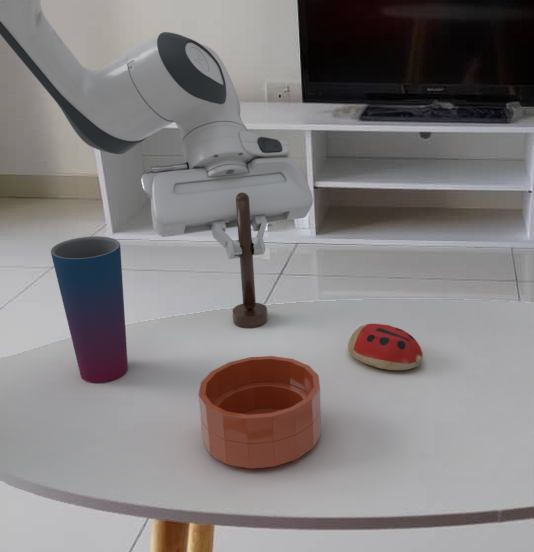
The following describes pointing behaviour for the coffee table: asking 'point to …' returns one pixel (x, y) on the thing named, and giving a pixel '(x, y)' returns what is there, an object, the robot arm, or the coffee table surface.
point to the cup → (93, 304)
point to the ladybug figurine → (385, 347)
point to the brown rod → (247, 271)
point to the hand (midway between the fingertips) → (247, 254)
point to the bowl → (260, 411)
